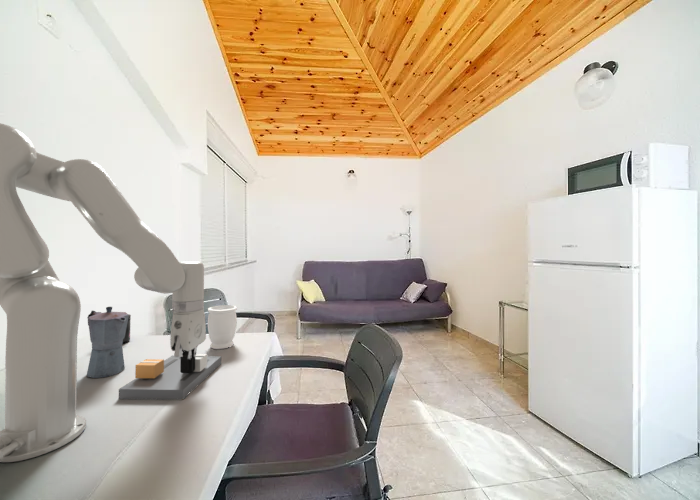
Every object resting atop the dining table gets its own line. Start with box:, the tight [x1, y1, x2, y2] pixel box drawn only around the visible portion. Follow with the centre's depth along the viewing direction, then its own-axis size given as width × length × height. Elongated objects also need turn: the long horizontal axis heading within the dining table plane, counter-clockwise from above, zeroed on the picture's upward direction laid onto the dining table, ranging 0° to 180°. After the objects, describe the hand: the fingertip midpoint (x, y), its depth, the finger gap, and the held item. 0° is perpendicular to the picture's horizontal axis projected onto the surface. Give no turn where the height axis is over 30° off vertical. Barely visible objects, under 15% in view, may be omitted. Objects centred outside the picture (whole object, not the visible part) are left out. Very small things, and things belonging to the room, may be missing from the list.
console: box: [118, 355, 222, 401], centre depth 82 cm, size 22×16×3 cm
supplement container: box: [122, 313, 132, 345], centre depth 111 cm, size 7×7×10 cm
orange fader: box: [134, 358, 165, 379], centre depth 78 cm, size 4×5×4 cm
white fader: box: [193, 353, 208, 372], centre depth 82 cm, size 4×5×4 cm
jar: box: [207, 304, 238, 350], centre depth 110 cm, size 11×10×15 cm
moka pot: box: [86, 306, 130, 379], centre depth 85 cm, size 10×15×20 cm, turn 78°
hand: (187, 371), depth 78 cm, fingers closed
